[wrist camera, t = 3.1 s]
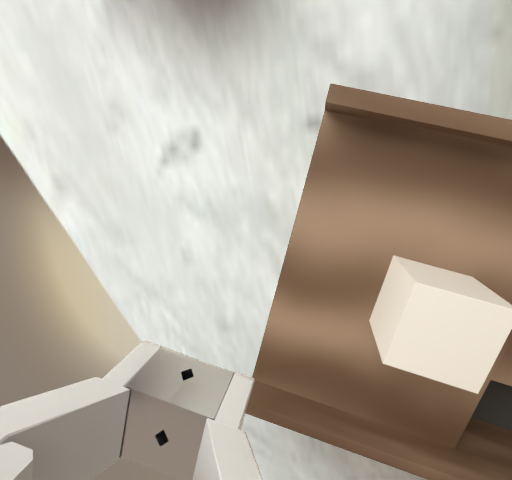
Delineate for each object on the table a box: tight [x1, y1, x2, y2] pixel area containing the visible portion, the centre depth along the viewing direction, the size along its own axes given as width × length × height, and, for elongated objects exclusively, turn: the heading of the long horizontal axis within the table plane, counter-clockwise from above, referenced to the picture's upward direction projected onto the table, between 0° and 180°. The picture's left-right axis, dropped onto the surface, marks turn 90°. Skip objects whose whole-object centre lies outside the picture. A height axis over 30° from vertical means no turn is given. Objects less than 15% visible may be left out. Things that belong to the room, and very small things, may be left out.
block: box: [369, 255, 512, 394], centre depth 15 cm, size 4×4×4 cm
